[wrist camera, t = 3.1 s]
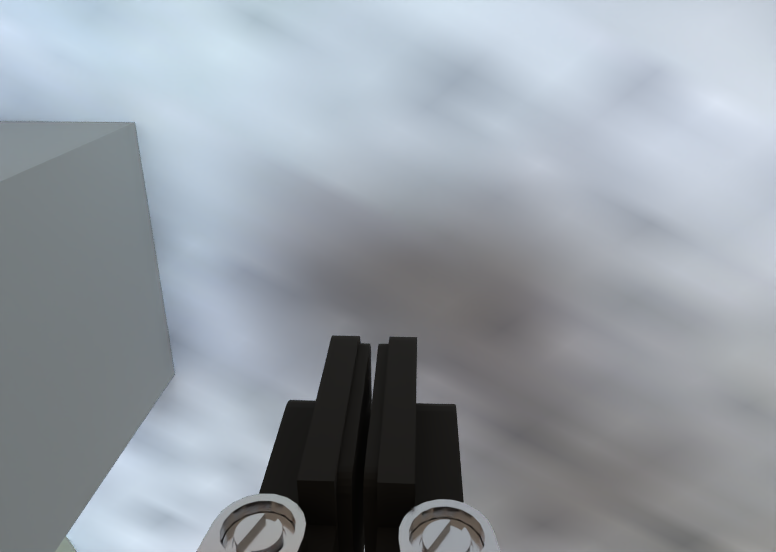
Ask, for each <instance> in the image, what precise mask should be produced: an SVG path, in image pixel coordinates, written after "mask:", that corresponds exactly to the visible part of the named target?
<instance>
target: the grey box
mask: <svg viewBox="0 0 776 552" xmlns="http://www.w3.org/2000/svg"><path fill="white" fill-rule="evenodd" d="M174 375H175V370H174V364H173V358H172V351H171V345H170V339H169V333H168V326H167V320H166V314H165V308H164V301H163V295H162V289H161V283H160V276H159V270H158V264H157V258H156V251H155V245H154V239H153V233H152V226H151V220H150V214H149V208H148V201H147V195H146V189H145V183H144V176H143V170H142V164H141V157H140V151H139V145H138V139H137V132H136V126H135V122H43V121H0V552H55V551H56V550H57V548H58V547H59V545H60V544H61V542H62V541H63V539H64V538H65V536H66V535H67V533H68V532H69V530H70V529H71V527H72V526H73V524H74V523H75V521H76V520H77V519H78V517H79V516H80V514H81V513H82V511H83V510H84V508H85V507H86V505H87V504H88V502H89V501H90V499H91V498H92V496H93V495H94V493H95V492H96V490H97V489H98V487H99V486H100V485H101V483H102V482H103V480H104V479H105V477H106V476H107V474H108V473H109V471H110V470H111V468H112V467H113V465H114V464H115V462H116V461H117V459H118V458H119V456H120V455H121V453H122V452H123V450H124V449H125V448H126V446H127V445H128V443H129V442H130V440H131V439H132V437H133V436H134V434H135V433H136V431H137V430H138V428H139V427H140V425H141V424H142V422H143V421H144V419H145V418H146V416H147V415H148V413H149V412H150V411H151V409H152V408H153V406H154V405H155V403H156V402H157V400H158V399H159V397H160V396H161V394H162V393H163V391H164V390H165V388H166V387H167V385H168V384H169V382H170V381H171V379H172V378H173V377H174Z"/></svg>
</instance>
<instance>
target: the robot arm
mask: <svg viewBox="0 0 776 552" xmlns="http://www.w3.org/2000/svg"><path fill="white" fill-rule="evenodd" d="M416 369H417V337H390V338H389V344H379V345H378V354H377V362H376V371H375V380H374V389H373V398H372V391H371V346H370V344H364V343H361V341H360V336H332V337H331V341H330V345H329V349H328V353H327V358H326V362H325V366H324V370H323V374H322V378H321V382H320V386H319V390H318V394H317V399H316V401H305V400H290V401H288V403H287V405H286V408H285V411H284V415H283V418H282V421H281V424H280V427H279V431H278V434H277V437H276V440H275V444H274V447H273V450H272V453H271V457H270V460H269V463H268V466H267V470H266V473H265V476H264V479H263V483H262V486H261V489H260V492H259V494H257V495H252V496H247V497H244V498H242V499H240V500H238V501H235V502H233V503H232V504H230V505H229V506H228V507H226V508H225V509H224V510H222V511H221V513H220V514H219V515H218V516H217V518H216V519H215V520H214V521H213V523H212V525H211V527H210V528H209V530H208V532H207V534H206V535H205V537H204V539H203V541H202V542H201V544H200V546H199V548H198V549H197V551H196V552H364V545H365V552H501V551H500V548H499V545H498V542H497V539H496V536H495V532H494V530H493V528H492V526H491V524H490V522H489V520H488V519H487V518H486V517H485V516H484V515H483V514H482V513H481V512H480V511H479V510H477V509H475V508H473V507H472V506H470V505H468V504H466V503H464V501H463V489H462V476H461V463H460V451H459V438H458V425H457V413H456V405H455V404H422V403H416Z"/></svg>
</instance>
